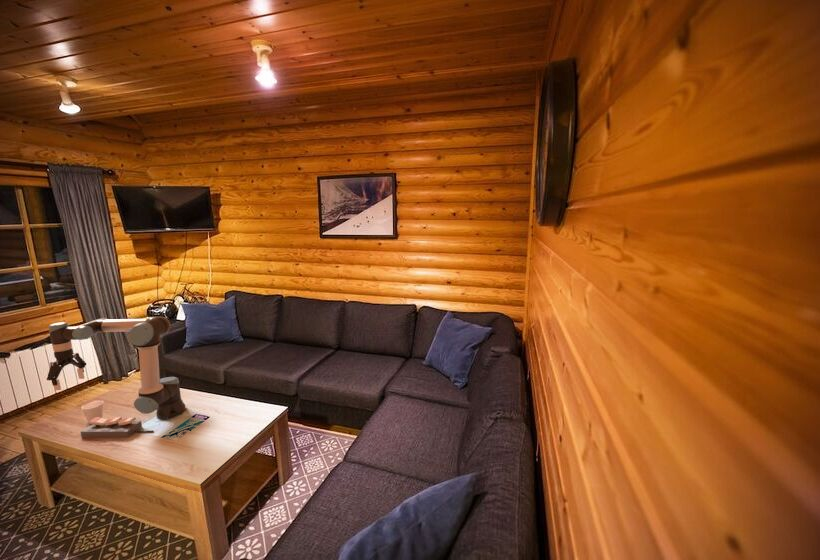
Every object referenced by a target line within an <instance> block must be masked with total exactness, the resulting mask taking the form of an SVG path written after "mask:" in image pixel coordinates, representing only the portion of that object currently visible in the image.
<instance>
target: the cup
mask: <svg viewBox="0 0 820 560" xmlns="http://www.w3.org/2000/svg"><path fill="white" fill-rule="evenodd" d="M103 408H104V400H99V399H98V400H94V401H91V402H87V403H85V404H84V405H82V406H81V407H80V409H81V410H82V412H83V414H84V416H85V418H86V421H87V423H88V424H90V421H91V420H92V419H94V418H96V417H100V418H103V413H104V412H103V411H104V409H103Z"/></svg>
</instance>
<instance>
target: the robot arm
mask: <svg viewBox="0 0 820 560" xmlns="http://www.w3.org/2000/svg"><path fill="white" fill-rule="evenodd" d="M170 329H171V322H170V320H169V319H168V318H166V317H164V316H148V317H147V318H120V319H119V318H118V319H113V318H112V319H111V318H110V319H109V318H108V317H103V318H101V317H100V318H97V319H94V320H91V321H89V322H86V323H83V324H79V325H76V326H69V325H68V322H65V321H62V322H55V323H52V324H49V326H48V333H49V338H50V341H51V345H52V350H53V355H54V358H55V361H51V362H49V365H50V366H49V370H48V374H47V377H46V381H51V384H52V386H53V389H54V391H61V390H62V387H61V382H60V379H59V376H60V374H61V372H62V370H63V368H65V367H66V366H68V365H72V366H74V367H77V368H76V372H77V377H78V379H79V380H84V379H85V374H84V373H85V370H84V368H86V366H87V362H86V361H85V360H84V359H83V358H82V357H81V356H80V354H79V352H74V349H73V343H72V341H73V340H74V341H76V340H80V341H82V340H83V341H84V340H88V339H90V338H91V337H92V336H94V335H95V334H98V333H117V332H123V333H124V332H126V333H127V332H128V335H127V337H128V340H129V341H130V342H131V344H132V345H134V348H135V349H138V361H139V372H140V373H139V374H140V383H141V384H140V386H141V387H140V388H139V389H138V390H137V391H138V396H137V398H136V399H135V400H134V401H133V406H134V409H136V411H138V412H139V413H141V414H144V415H145V414H147V415H150V414H152V413H154V412H155V411H156V413H155V414H156V418H157V419H158V420H168V419H172V418H175V417H178V416H179V415H181V414H183V413H185V411H186V408H187V407H186V404H185V402H184V400H183V399H182V396H181V388H180V381H179V378H178V377H176V376H168V377H167V376H166V377H163V378H161V377H160V364H159V363H160V362H159V351H158V350H159V348H158V347H159V346H160V345H161V343H162V342H161V337H163V336H164V335H166V334H167V333H169V330H170Z"/></svg>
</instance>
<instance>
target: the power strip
mask: <svg viewBox="0 0 820 560" xmlns="http://www.w3.org/2000/svg"><path fill="white" fill-rule="evenodd" d="M119 422H120V421H119ZM119 422H118V423H119ZM118 423H116V424H111V425H106V426H105V425H103V426H101V425H96V424H90V425H89V426H87V427H86V428H84V429H82V430H81V431H80V436H81V439H128V438H130V437H131V436H133V435H134V434H135V433H154V432H155V431H154V430H141V429H142V427H143V425H142V420H134V421H133V422H132V423H130V424H125V425H120V426H119V425H118Z"/></svg>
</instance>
